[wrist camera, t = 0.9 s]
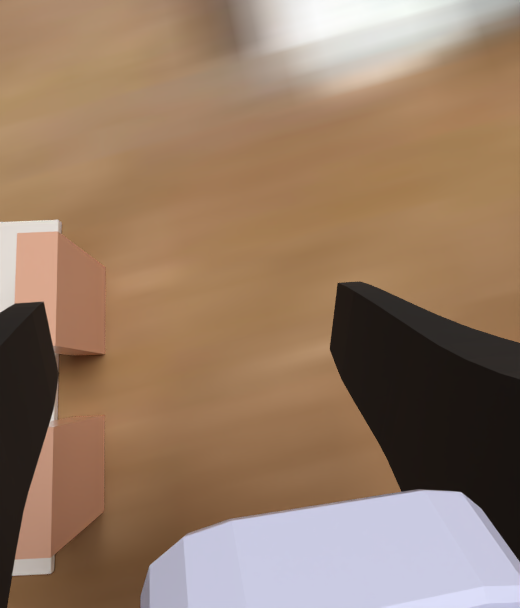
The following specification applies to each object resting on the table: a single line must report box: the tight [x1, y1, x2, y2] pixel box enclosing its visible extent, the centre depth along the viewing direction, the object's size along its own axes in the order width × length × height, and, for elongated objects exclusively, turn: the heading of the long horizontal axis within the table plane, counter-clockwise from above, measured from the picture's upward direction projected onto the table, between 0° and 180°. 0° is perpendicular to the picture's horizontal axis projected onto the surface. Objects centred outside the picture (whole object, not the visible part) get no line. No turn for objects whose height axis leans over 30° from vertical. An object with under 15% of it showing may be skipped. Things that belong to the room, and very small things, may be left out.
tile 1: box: [14, 231, 106, 356], centre depth 21 cm, size 4×2×6 cm, turn 3°
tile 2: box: [15, 415, 105, 560], centre depth 20 cm, size 4×2×6 cm, turn 3°
